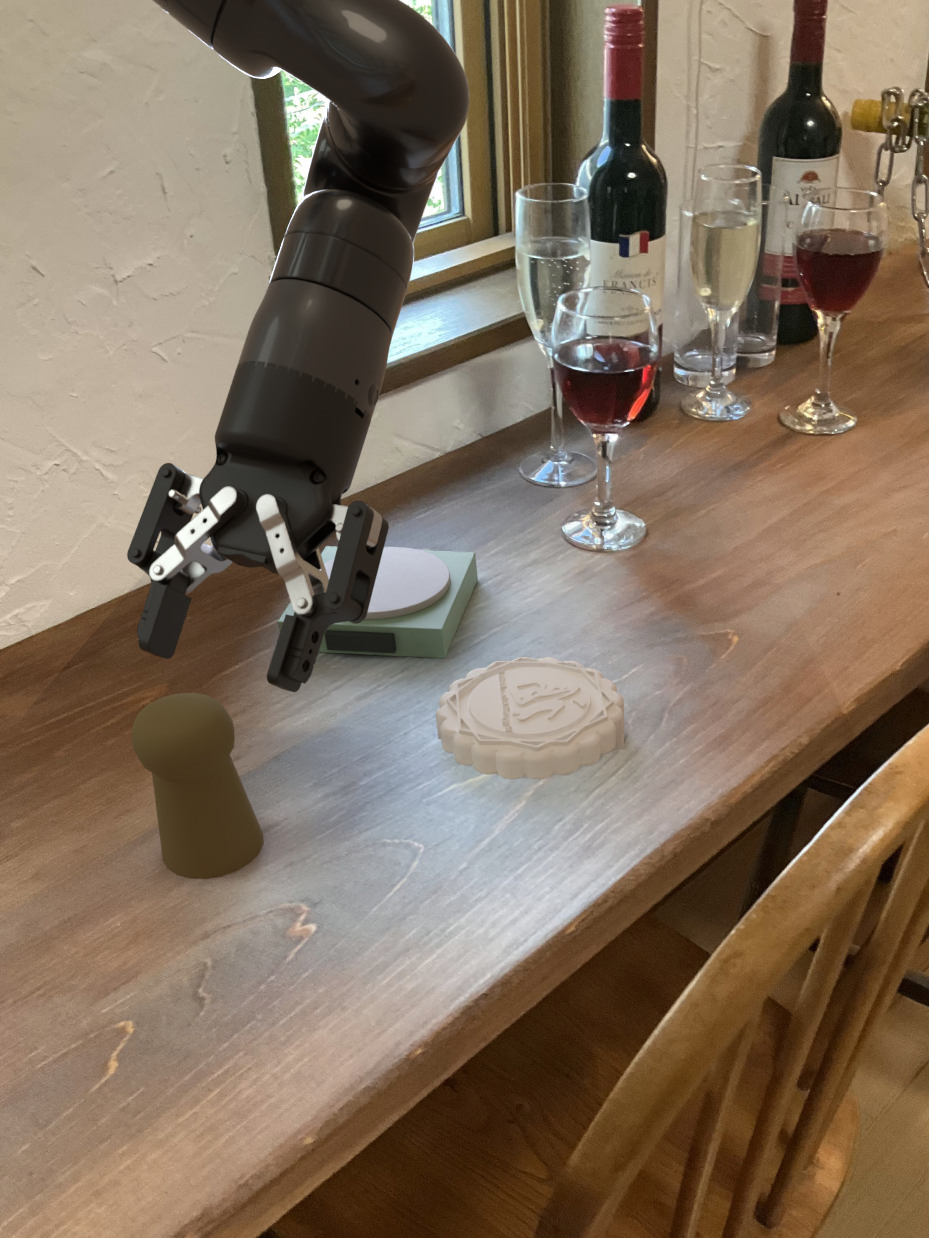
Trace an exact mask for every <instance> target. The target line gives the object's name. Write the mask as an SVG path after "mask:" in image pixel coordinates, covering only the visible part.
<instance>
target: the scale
mask: <svg viewBox="0 0 929 1238" xmlns="http://www.w3.org/2000/svg"><path fill="white" fill-rule="evenodd" d="M337 547H338V546H329V545H326V546H325V547H324V549H323V550H322V552H320V553H321V557H322V560H323V563H324V566H325V569H326V573H327V576H328V579H329V578H330V574H331V570H332V566H333V563H334V559H335V555H336V551H337ZM476 555H477V554H476V552H474V551H453V550H452V551H451V550H450V551H449V550H431V549H430V550H429V549H427V550H426V549H417V548H412V547H404V546H402V547H401V546H384V549H383V553H382V557H381V561H380V565H379V569H378V573H377V577H376V580H375V584H374V588H373V592H372V596H371V600H370V604H369V608H368V612H367V616H366V618H365V619H364V620H363V621H362V622H360V623H357V624H354V623H352V622H350V621H346V622H340V623H334V624H332V625H331V626H330V627H328V628H327V629H326V631H325V633H324V636H323V639H322V642H321V646H320V649H319V652H318V653H328V654H329V653H330V654H347V655H348V654H349V655H351V654H352V655H371V656H391V657H409V658H410V657H411V658H431V659H446V657H447V655H448V653H449V650H450V647H451V644H452V643H453V640H454V638H455V635H456V633H457V630H458V628H459V625H460V623H461V621H462V618H463V616H464V614H465V611H466V609H467V607H468V604H469V602H470V599H471V596H472V594H473V592H474V590H475V587H476V586H477V585H476V584H477V582H478V581H479V580H478V579H479V577H478V567H477V557H476ZM286 614H287V615H291V616H293V615H294V610H293V608H292V605H291V601H289V603H288V605H287V606H286V608H285V610H284V611H283V612H282V614H281V616H280V617H279V619H278V620H277V625H278V630H279V632H280V631H281V628H282V625H283V622H284V619H285V616H286Z"/></svg>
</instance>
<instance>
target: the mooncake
mask: <svg viewBox="0 0 929 1238" xmlns="http://www.w3.org/2000/svg"><path fill="white" fill-rule="evenodd" d="M438 707H439V708H438V709H437V711H436V712H435V723H436V731H437V739H438V740H441V746H442V749H443V750H444V751H445V752H447V753H449V754H453V757H454V760H455V762H456V763H458V764H460V765H464V766H472V768H473V769H474V771H475V772H477V773H479V774H481V775H494V774H497V775H498V776H499V777H501V778H503V779H507V780H517V779H522V778H524V777H526V778H529V779H532V780H543V779H546V778H549V777H551V776H552V775H554V774H555V775H569V774H572V773H574V772H576V771H578V769H579V768H580V767H581V766H582V767H583V766H584V767H585V766H590V765H594V764H596V763H598V762H599V760H601V758H602V754H607V753H609V752H611V751H613V750H624V747H625V699H624V697H623V696H622V694H620V693H619V692H618V688H617V685H616V684H615V682H614V681H613V680H610V679H608V678H604V676H603V674H602V673H601V672H600V671H599V670H598V669H596V668H592V667H591V668H590V667H584V666H583V665H582V664H581V663H580V662H577V661H575V660H565V661H560V660H559V659H557V658H555V657H551V656H545V657H539V658H538V659H537V658H533V657H528V656H521V657H516V658H515V659H513V660H511V661H510V660H496V661H493V662H491V663H490V664H488V665H487V666H486V667H479V668H474V669H472V670H470V671H469V672H467V673H466V675H465V678H464V677H462V678H459V679H456V680H454V681H453V682H452V683H451V684H450V685H449V687H448V691H446V692H444V693H443V694H442V695H441V696H440V697H439V700H438Z"/></svg>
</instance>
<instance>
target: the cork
mask: <svg viewBox="0 0 929 1238" xmlns="http://www.w3.org/2000/svg"><path fill="white" fill-rule="evenodd" d="M235 739H236V738H235V727H234V722H233V719H232V717H231V716H230V714H229V712H228V711H227V709H226V708H225V706H224V705H223V704H222V703H220V702H219V700H217V699H215V698H214V697H211V696H210V695H206V694H203V693H197V692H181V693H174V694H169V695H166V696H162V697H161V698H158V699H156V700H154V701H151V702H150V703H148V704H147V705H145V707H143V708H142V709H141V710H140V711H139V712H138V714H137V715H136V716H135V718H134V721H133V724H132V729H131V745H132V748H133V751H134V753H135V755H136V757H137V759H138V760H139V762H140V763H141V765H142V766H143V768H144V769H146V770H147V771H149V772H150V773H151V776H152V786H153V793H154V801H155V809H156V817H157V825H158V833H159V834H158V835H159V842H160V848H161V858H162V862H163V863H164V865H165V867H166V868H167V869H168V870H169V871H171V872H172V873H173V874H174V875H177V876H178V877H179V876H180V877H183V878H186V879H194V880H197V879H198V880H209V879H214V878H215V879H216V878H220V877H221V878H222V877H224V876H228V875H230V874H232V873H235V872H238V871H240V870H241V869H243V868H244V867H246V866H248V865H249V864H250V863H252V862H253V861H254V859H256V858H257V856H258V855H259V854H260V853H261V850H262V848H263V846H264V843H265V841H264V833H263V829H262V828H261V825H260V824H259V820H258V818H257V815H256V813H255V811H254V809H253V806H252V804H251V801H250V799H249V797H248V795H247V793H246V790H245V787H244V784H243V782H242V780H241V778H240V775H239V773H238V771H237V768H236V766H235V763H234V760H233V759H232V756H231V754H232V751H233V750H234V748H235Z"/></svg>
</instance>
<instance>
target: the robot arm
mask: <svg viewBox="0 0 929 1238" xmlns="http://www.w3.org/2000/svg"><path fill="white" fill-rule="evenodd" d="M152 2H153V3H155V4H156V5H157V6H158V7H159V8H161V9H162V10H163V11H164V12H166V13H167V14H168V15H169V16H170V17H172V18H173V19H174V20H175V21H176V22H178V23H179V24H180V25H181V26H183V28H185V29H186V30H188V31H189V32H190V33H191V34H192V35H194V36H195V37H196V38H197V39H199V40H200V41H201V42H202V43H204V44H205V45H206V46H207V47H208V48H210V49H212V50H213V51H214V52H215V53H216V54H217V55H218V56H219V57H221V58H222V59H223V60H224V61H226V62H227V63H228V64H230V65H231V66H232V67H234V68H236V69H237V70H239V71H240V72H242V73H243V74H245V75H247V76H249V77H251V78H255V79H268V78H271V77H273V76H275V75H277V74H278V73H280V72H281V71H283V72H285V73H287V75H290V76H291V77H293V78H295V79H296V80H298V81H299V82H301V83H302V84H304V85H306V86H308V87H309V88H311V89H312V90H314V91H316V93H319V94H320V95H322V96H323V97H324V98H325V99H327V102H326V105H325V110H324V112H323V115H322V119H321V123H320V126H319V129H318V134H317V138H316V141H315V145H314V149H313V152H312V156H311V160H310V164H309V167H308V172H307V176H306V179H305V184H304V188H303V191H302V197H301V200H300V201H299V202H298V204H297V206H296V208H295V209H294V212H293V213H292V217H291V219H290V221H289V223H288V225H287V228H286V231H285V233H284V236H283V239H282V242H281V244H280V248H279V251H278V254H277V257H276V260H275V264H274V267H273V270H272V272H271V275H270V279H269V282H268V286H267V288H266V290H265V294H264V296H263V298H262V300H261V302H260V304H259V306H258V308H257V310H256V311H255V314H254V315H253V318H252V320H251V323H250V324H249V325H250V326H249V328H248V331H247V333H246V338H245V340H244V344H243V347H242V350H241V353H240V356H239V359H238V362H237V365H236V368H235V370H234V375H233V377H232V380H231V383H230V386H229V390H228V393H227V396H226V399H225V402H224V405H223V409H222V411H221V414H220V418H219V421H218V424H217V427H216V430H215V434H214V443H215V450H216V451H215V452H216V453H215V454H216V455H215V456H216V458H215V462H214V464H213V466H212V468H211V469H210V471H208V473H207V474H206V475H205V476H204V477H202V476H197V475H193V474H190V473H187V472H186V471H184V470H183V469H181V468H179V467H178V466H177V465H175V464H173V463H171V462H166V463H163V464H162V465H161V466H160V467H159V468H158V471H157V473H156V476H155V478H154V481H153V483H152V486H151V489H150V492H149V495H148V497H147V499H146V502H145V505H144V507H143V510H142V513H141V516H140V518H139V520H138V523H137V526H136V528H135V531H134V534H133V536H132V539H131V541H130V544H129V547H128V548H127V552H126V558H127V560H128V562H130V563H131V564H133V565H135V566H137V568H139V569H140V570H142V571H143V572H144V573H145V574H147V575H148V577H149V579H150V586H149V587H150V588H149V591H148V593H147V596H146V600H145V603H144V606H143V609H142V612H141V615H140V619H139V621H138V624H137V627H136V628H137V629H136V630H137V633H136V635H137V638H138V647H139V649H140V650H141V651H144V652H146V653H148V654H151V655H153V656H155V657H158V658H163V659H166V660H170V659H171V658H172V657H173V656H174V655H175V652H176V649H177V646H178V643H179V639H180V637H181V633H182V630H183V627H184V624H185V622H186V618H187V614H188V612H189V609H190V606H191V603H192V602H191V601H192V599H193V598H192V597H190V596H188V595H189V594H190V593H192V592H193V590H195V589H196V588H197V587H198V586H199V585H200V584H202V583H203V582H204V581H205V580H206V579H207V578H208V577H210V576H211V575H213V574H220V573H223V572H224V571H225V570H226V569H228V568H229V567H230V566H231V565H232V564H233V563H234V564H235V565H237V566H240V567H244V568H249V569H251V568H263V569H265V570H267V571H269V572H270V573H273V574H276V575H279V576H280V578H281V579H282V580H283V582H284V584H285V588H286V592H287V596H288V598H289V602H291V605H292V608H293V610H294V615H293V616H291V615H287V614H286V616H285V619H284V622H283V625H282V628H281V631H279V634H278V638H277V641H276V645H275V648H274V651H273V654H272V657H271V659H270V664H269V666H268V670H267V673H266V680H267V682H268V684H270V685H272V686H274V687H276V688H278V689H281V690H282V691H283V690H284V691H287V692H292V693H297V692H298V691H299V690H300V688H301V686H302V684H306V683H308V681H309V679H310V678H311V677H312V674H313V671H314V667H315V665H316V661H317V658H318V655H319V653H320V652H319V649H320V646H321V642H322V639H323V636H324V633H325V631H326V629H327V628H328V627H330V626H331V625H332V624H334V623H340V622H346V621H350V622H352V623H354V624H357V623H360V622H362V621H363V620H364V619H365V618H366V616H367V612H368V608H369V604H370V600H371V596H372V592H373V588H374V584H375V580H376V577H377V573H378V569H379V565H380V561H381V557H382V553H383V549H384V547H385V544H386V540H387V537H388V533H389V528H390V526H389V522H388V521H387V519H386V518H384V517H383V516H382V515H381V513H379V512H377V510H375V509H374V508H373V507H371V506H370V505H368V504H366V503H365V502H364V501H362V500H354V501H352V502H351V503H350V504H349V505H344V504H342V495H344V494H346V493H347V492H348V491H349V490H350V488H351V486H352V482H353V479H354V477H355V474H356V470H357V467H358V464H359V462H360V461H359V460H360V457H361V454H362V451H363V448H364V445H365V442H366V439H367V435H368V431H369V429H370V426H371V423H372V419H373V417H374V416H373V415H374V412H375V409H376V406H377V404H378V400H379V397H380V394H381V390H382V387H383V383H384V379H385V376H386V370H387V366H388V361H389V360H388V359H389V353H390V348H391V345H392V339H393V336H394V333H395V330H396V327H397V323H398V320H399V318H400V317H399V316H400V314H401V310H402V308H403V304H404V301H405V298H406V295H407V293H408V289H409V285H410V282H411V278H412V273H413V267H414V262H415V247H414V242H415V239H416V236H417V233H418V231H419V227H420V225H421V221H422V218H423V215H424V213H425V209H426V207H427V204H428V201H429V199H430V197H431V194H432V191H433V188H434V186H435V183H436V181H437V178H438V175H440V171H441V169H442V167H443V166H444V163H445V162H446V160H447V158H448V156H449V155H450V152H451V151H452V148H453V147H454V145H455V144H456V143H457V140H458V138H459V137H460V135H461V134H462V131H463V129H464V127H465V125H466V122H467V118H468V115H469V109H470V102H471V101H470V99H471V98H470V87H469V82H468V78H467V75H466V71H465V70H464V67H463V65H462V63H461V60H460V58H459V57H458V56H457V54H456V52H455V51H454V49H453V47H451V45H450V43H449V42H448V41H447V39H445V37H444V36H443V35H442V34H441V32H440V31H439V30H438V29H437V28H436V27H435V26H434V25H433V24H432V23H431V22H430V21H429V20H427V19H426V18H425V17H424V16H423V15H422V14H420V13H419V12H417V10H415V9H414V8H413V7H411V6H409V5H408V4H406V3H405V2H404V1H402V0H152ZM194 514H197V515H196V516H195V517H193V516H194ZM334 534H335V536H336V540H337V541H338V543H337V546H336V547H337V551H336V555H335V559H334V563H333V566H332V570H331V574H330V578H329V579H328V576H327V573H326V569H325V566H324V563H323V560H322V557H321V553H322V552H321V550H320V547H321V546H322V545H323V544H324V543H325V542H326V541H328V540H329V539H330V538H331V537H332V536H333V535H334ZM159 536H160V537H159ZM158 538H159V539H158ZM208 539H210V542H211V544H212V545H208V544H207V543H205V542H206V541H207V540H208ZM156 544H157V545H156ZM155 546H156V547H155ZM154 549H155V550H154Z"/></svg>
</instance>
